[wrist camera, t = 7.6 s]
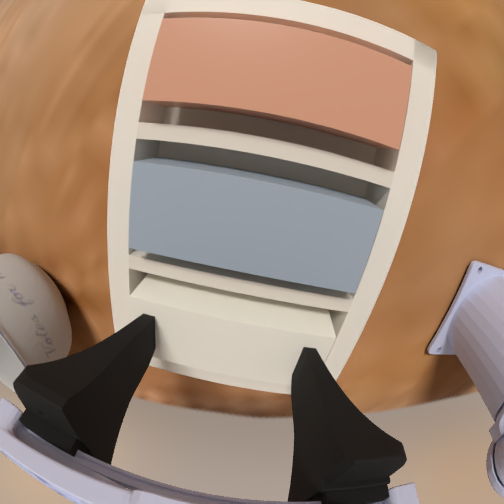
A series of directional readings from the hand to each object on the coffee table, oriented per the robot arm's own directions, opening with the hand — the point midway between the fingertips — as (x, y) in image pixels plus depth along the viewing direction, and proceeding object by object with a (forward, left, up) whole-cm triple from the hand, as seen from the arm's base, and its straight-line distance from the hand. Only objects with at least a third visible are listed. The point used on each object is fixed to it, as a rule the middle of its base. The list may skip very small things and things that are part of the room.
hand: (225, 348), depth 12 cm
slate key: (0, -6, -2) cm, 6 cm away
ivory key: (0, 0, -2) cm, 2 cm away
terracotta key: (0, -12, -2) cm, 12 cm away
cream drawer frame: (0, -6, -4) cm, 7 cm away
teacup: (+18, +4, -5) cm, 19 cm away
